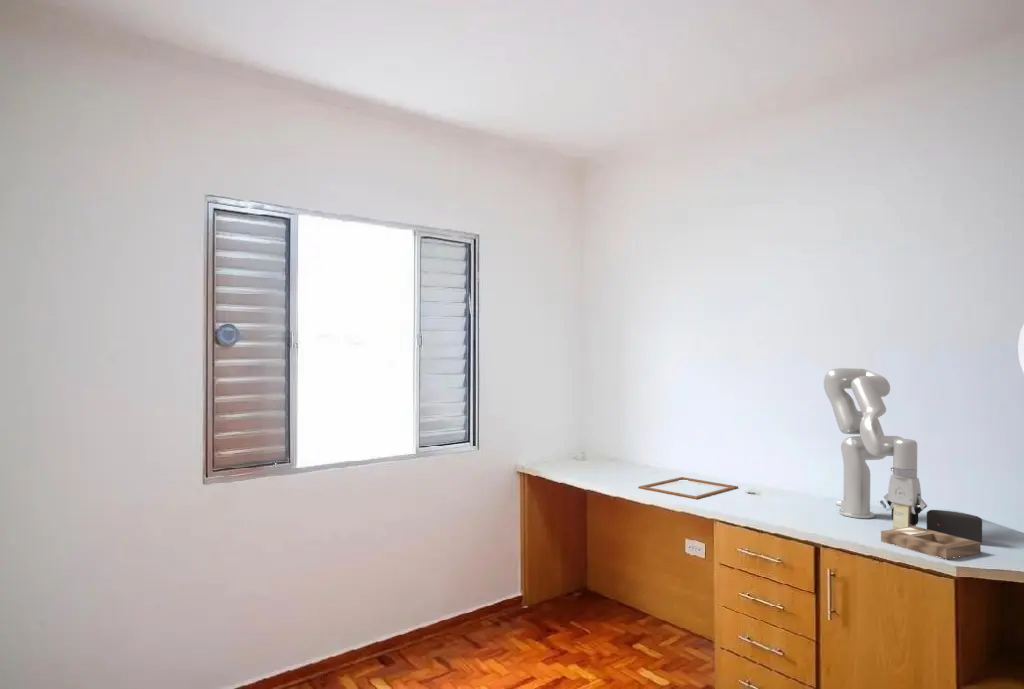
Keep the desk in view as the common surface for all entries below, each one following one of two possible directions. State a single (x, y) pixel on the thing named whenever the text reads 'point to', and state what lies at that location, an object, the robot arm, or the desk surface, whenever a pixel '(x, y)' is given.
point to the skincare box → (901, 516)
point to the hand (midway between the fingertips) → (904, 521)
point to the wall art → (673, 481)
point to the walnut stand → (931, 542)
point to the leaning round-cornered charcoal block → (955, 524)
